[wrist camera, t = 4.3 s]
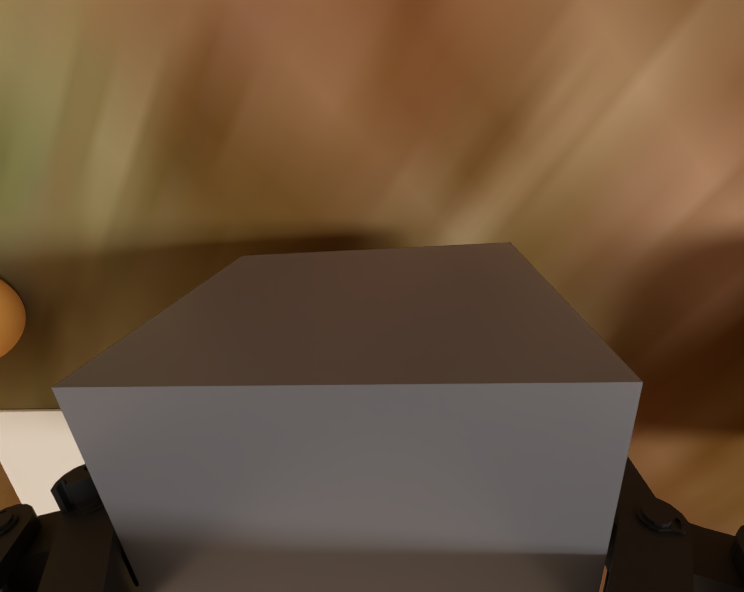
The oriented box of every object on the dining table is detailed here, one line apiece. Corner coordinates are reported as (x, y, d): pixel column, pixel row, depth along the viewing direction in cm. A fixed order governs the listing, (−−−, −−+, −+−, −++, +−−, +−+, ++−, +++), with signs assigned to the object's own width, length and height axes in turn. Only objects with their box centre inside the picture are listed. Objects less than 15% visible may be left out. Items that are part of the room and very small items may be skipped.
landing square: (-22, 409, 24) (-26, 412, 24) (129, 408, 23) (127, 410, 23) (38, 528, 27) (35, 531, 27) (172, 531, 26) (170, 534, 26)
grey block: (242, 255, 15) (50, 387, 7) (510, 242, 14) (642, 381, 6) (283, 457, 19) (188, 693, 11) (498, 459, 18) (570, 727, 10)
